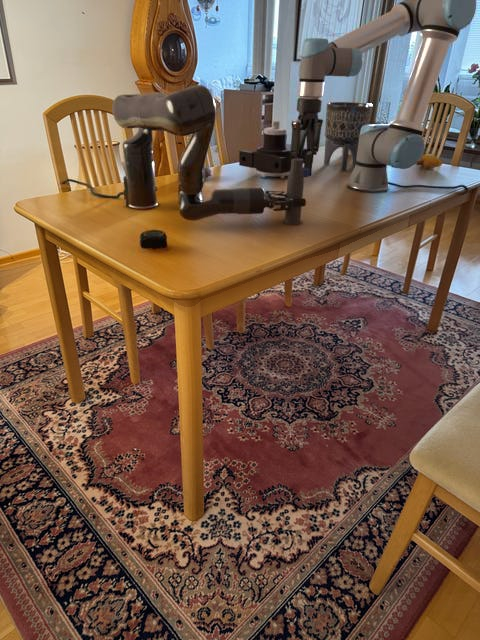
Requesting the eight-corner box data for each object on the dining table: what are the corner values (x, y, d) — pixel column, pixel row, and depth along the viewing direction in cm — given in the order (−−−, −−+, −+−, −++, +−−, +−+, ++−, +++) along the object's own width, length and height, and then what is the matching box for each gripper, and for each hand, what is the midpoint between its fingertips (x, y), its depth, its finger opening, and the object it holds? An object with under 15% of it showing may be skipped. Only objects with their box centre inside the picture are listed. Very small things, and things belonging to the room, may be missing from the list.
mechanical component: (240, 120, 182) (283, 115, 202) (239, 174, 192) (280, 164, 212) (283, 126, 170) (325, 120, 190) (280, 183, 180) (320, 171, 200)
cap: (311, 176, 149) (312, 169, 148) (300, 177, 147) (300, 170, 146) (304, 173, 152) (305, 166, 151) (292, 174, 151) (293, 167, 149)
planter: (313, 167, 208) (319, 103, 195) (331, 160, 222) (338, 101, 209) (353, 173, 199) (362, 107, 185) (369, 166, 213) (379, 104, 199)
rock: (203, 174, 190) (203, 158, 187) (216, 178, 185) (216, 162, 181) (177, 179, 183) (176, 162, 179) (189, 183, 177) (189, 166, 174)
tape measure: (140, 252, 115) (139, 238, 113) (141, 242, 120) (140, 229, 119) (167, 251, 116) (166, 237, 114) (167, 241, 121) (166, 228, 120)
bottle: (281, 222, 138) (286, 159, 129) (289, 218, 142) (293, 157, 132) (295, 225, 136) (301, 161, 127) (302, 221, 139) (308, 159, 130)
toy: (416, 161, 206) (411, 154, 219) (419, 175, 209) (413, 167, 222) (442, 153, 203) (435, 147, 216) (444, 167, 206) (437, 160, 219)
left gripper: (251, 194, 125) (310, 193, 128) (243, 182, 138) (297, 181, 140) (250, 221, 129) (308, 219, 131) (242, 206, 141) (295, 205, 144)
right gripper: (316, 96, 146) (309, 170, 157) (282, 97, 135) (276, 177, 146) (336, 97, 141) (327, 174, 153) (302, 99, 130) (295, 182, 142)
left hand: (302, 199), depth 136 cm, fingers closed on bottle, 4 cm apart
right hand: (302, 176), depth 150 cm, fingers closed on cap, 4 cm apart
